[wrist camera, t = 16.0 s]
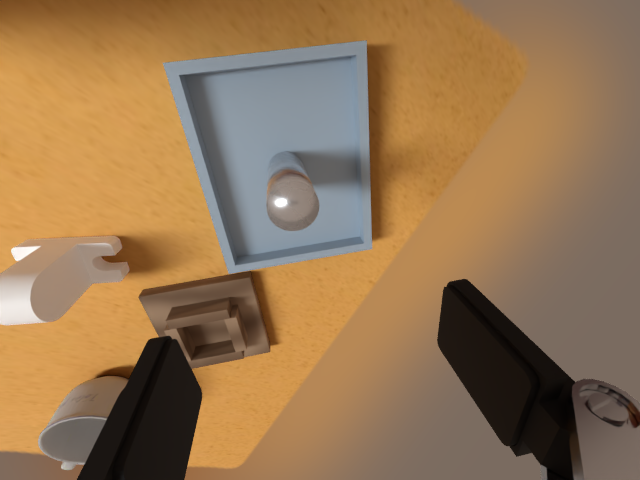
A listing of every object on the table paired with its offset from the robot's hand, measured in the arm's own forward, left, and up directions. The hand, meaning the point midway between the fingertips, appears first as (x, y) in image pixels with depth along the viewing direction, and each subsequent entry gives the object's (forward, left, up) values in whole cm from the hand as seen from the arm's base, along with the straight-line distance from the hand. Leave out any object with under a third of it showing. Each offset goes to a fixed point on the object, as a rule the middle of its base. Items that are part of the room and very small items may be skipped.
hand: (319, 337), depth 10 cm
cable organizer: (+7, -26, -26) cm, 38 cm away
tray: (0, 0, -26) cm, 26 cm away
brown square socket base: (+20, -14, -26) cm, 36 cm away
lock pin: (0, 0, -25) cm, 25 cm away
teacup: (+31, -33, -26) cm, 52 cm away
